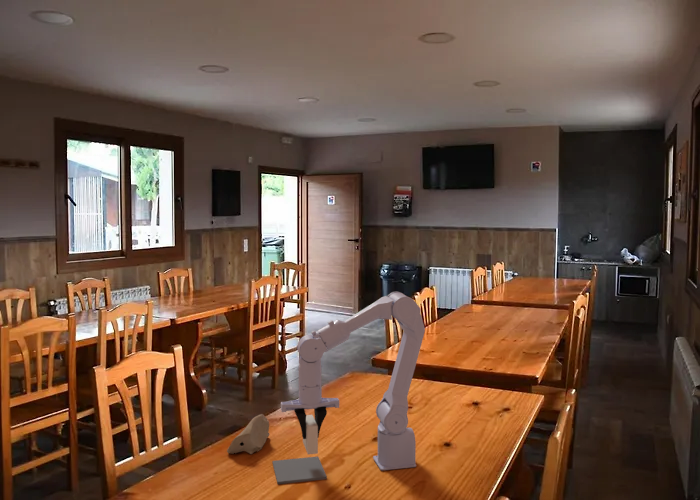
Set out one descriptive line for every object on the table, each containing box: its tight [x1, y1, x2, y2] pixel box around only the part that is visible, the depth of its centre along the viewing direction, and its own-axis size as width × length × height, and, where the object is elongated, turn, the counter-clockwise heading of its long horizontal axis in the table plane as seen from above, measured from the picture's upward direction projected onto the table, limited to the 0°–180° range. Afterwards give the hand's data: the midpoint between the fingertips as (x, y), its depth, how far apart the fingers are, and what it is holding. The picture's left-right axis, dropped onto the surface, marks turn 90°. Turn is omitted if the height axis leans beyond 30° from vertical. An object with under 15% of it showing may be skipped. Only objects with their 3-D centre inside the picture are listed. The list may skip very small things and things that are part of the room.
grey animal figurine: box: [226, 413, 270, 455], centre depth 165 cm, size 8×14×8 cm, turn 161°
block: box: [302, 414, 319, 455], centre depth 150 cm, size 2×8×7 cm, turn 13°
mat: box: [272, 456, 328, 485], centre depth 150 cm, size 12×12×1 cm
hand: (310, 436), depth 150 cm, fingers closed on block, 2 cm apart
